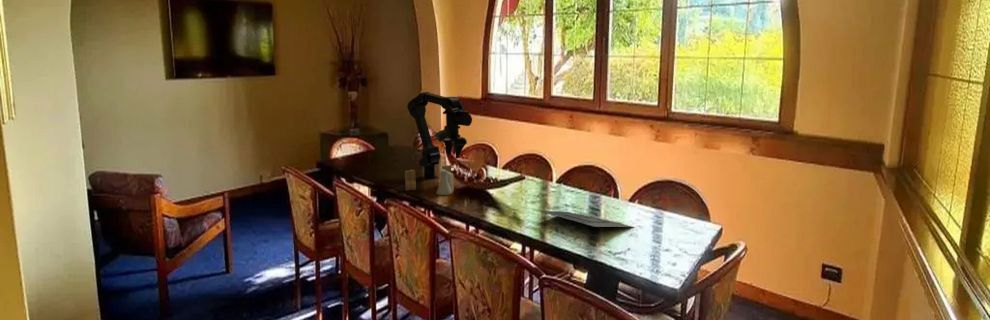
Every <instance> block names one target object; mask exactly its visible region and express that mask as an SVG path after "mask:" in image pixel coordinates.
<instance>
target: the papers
mask: <svg viewBox="0 0 990 320" xmlns="http://www.w3.org/2000/svg"><path fill="white" fill-rule="evenodd" d="M540 212H541V213H543V214H547V215H551V216H554V217H558V218H559V219H563V220H567V221H570V222H574V223H578V224H581V225H586V226H589V227H595V228H596V227H597V228H600V227H604V228H605V227H607V228H611V227H614V228H617V227H618V228H633V226H632V225H627V224H625V223H621V222H618V221H614V220H608V219H604V218H599V217H596V216H590V215H586V214H585V215H584V214H580V213H574V212H570V211H560V210H559V211H557V210H556V211H555V210H540Z"/></svg>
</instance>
